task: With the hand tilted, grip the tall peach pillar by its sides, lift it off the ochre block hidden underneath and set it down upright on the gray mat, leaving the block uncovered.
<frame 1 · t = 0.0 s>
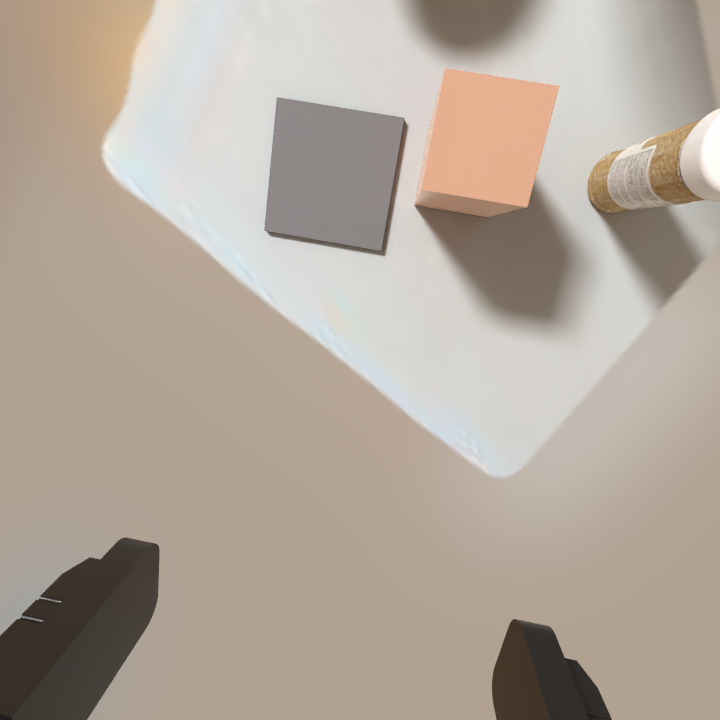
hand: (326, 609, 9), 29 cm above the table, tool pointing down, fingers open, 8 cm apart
tall peach pillar: (459, 171, 33), on the table
spice jar: (614, 183, 33), on the table
gray mat: (331, 177, 34), on the table
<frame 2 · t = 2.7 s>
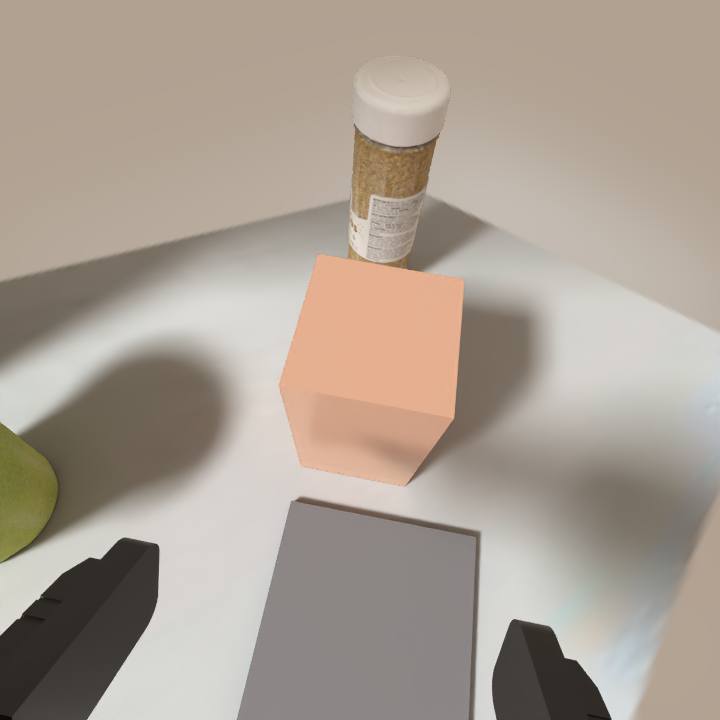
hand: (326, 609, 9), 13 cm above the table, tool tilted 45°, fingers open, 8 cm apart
tall peach pillar: (361, 426, 25), on the table
spice jar: (376, 273, 31), on the table
plant pot: (1, 506, 22), on the table
gray mat: (366, 627, 20), on the table
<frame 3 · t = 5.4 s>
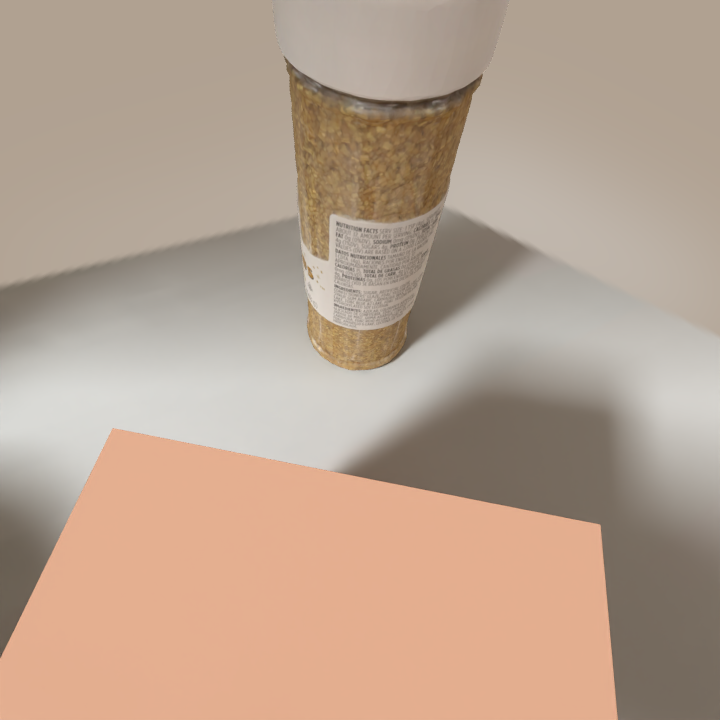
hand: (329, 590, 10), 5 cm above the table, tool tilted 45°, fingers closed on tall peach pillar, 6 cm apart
tall peach pillar: (320, 649, 13), on the table, touching gripper
spice jar: (357, 332, 19), on the table
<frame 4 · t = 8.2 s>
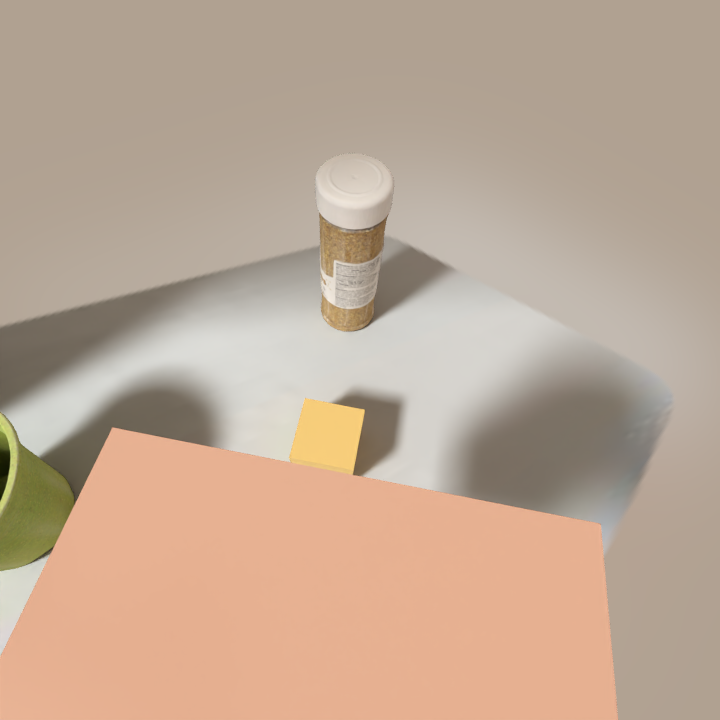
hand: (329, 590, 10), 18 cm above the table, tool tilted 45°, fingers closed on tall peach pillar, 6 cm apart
tall peach pillar: (320, 648, 13), point 13 cm above the table, touching gripper
spice jar: (347, 312, 36), on the table
plant pot: (27, 517, 27), on the table
ochre block: (328, 442, 28), on the table
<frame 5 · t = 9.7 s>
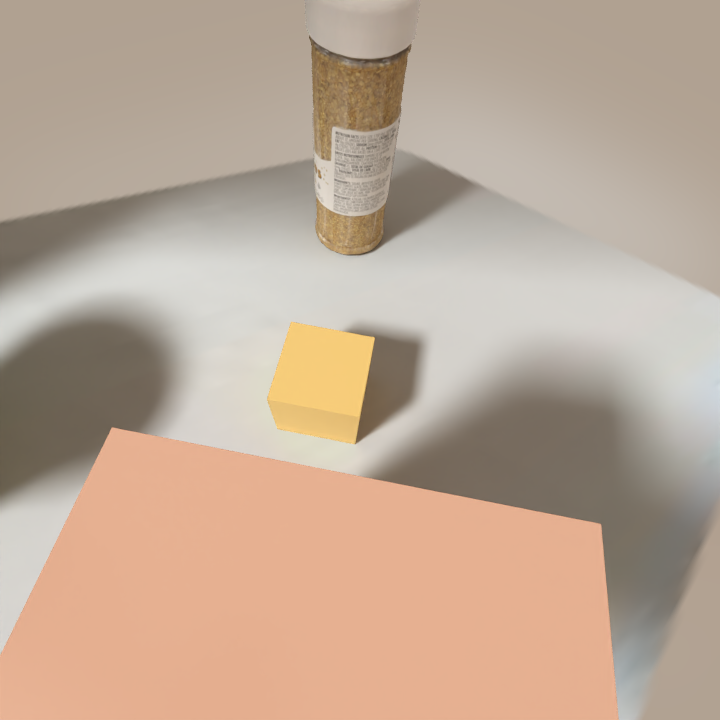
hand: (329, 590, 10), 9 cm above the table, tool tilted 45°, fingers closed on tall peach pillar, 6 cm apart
tall peach pillar: (320, 648, 13), point 4 cm above the table, touching gripper
spice jar: (349, 234, 28), on the table
ochre block: (324, 385, 20), on the table
when the fingers open (6 cm above the table, at t = 10.9 s): tall peach pillar stays where it is, resting on gray mat.
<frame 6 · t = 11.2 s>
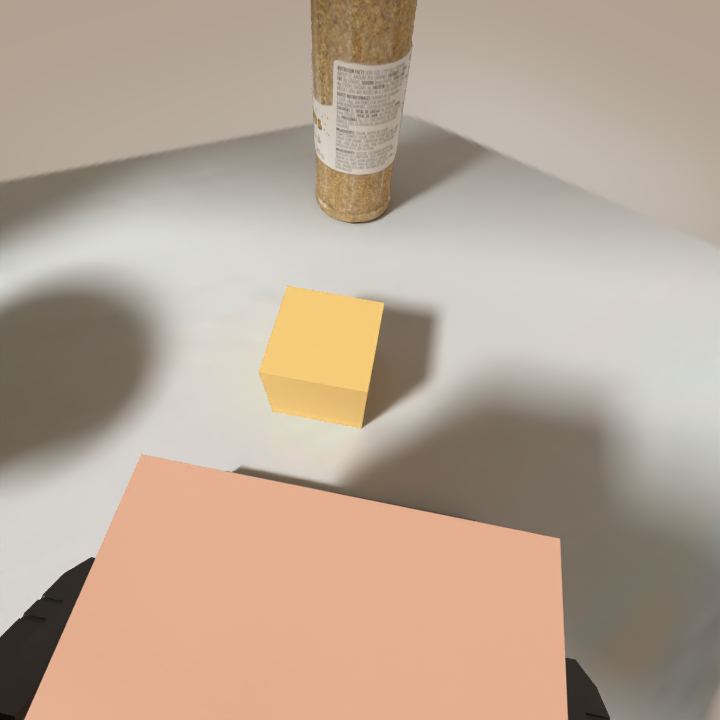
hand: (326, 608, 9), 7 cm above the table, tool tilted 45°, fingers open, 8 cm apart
tall peach pillar: (320, 647, 14), resting on gray mat
spice jar: (353, 202, 25), on the table
ochre block: (325, 360, 18), on the table
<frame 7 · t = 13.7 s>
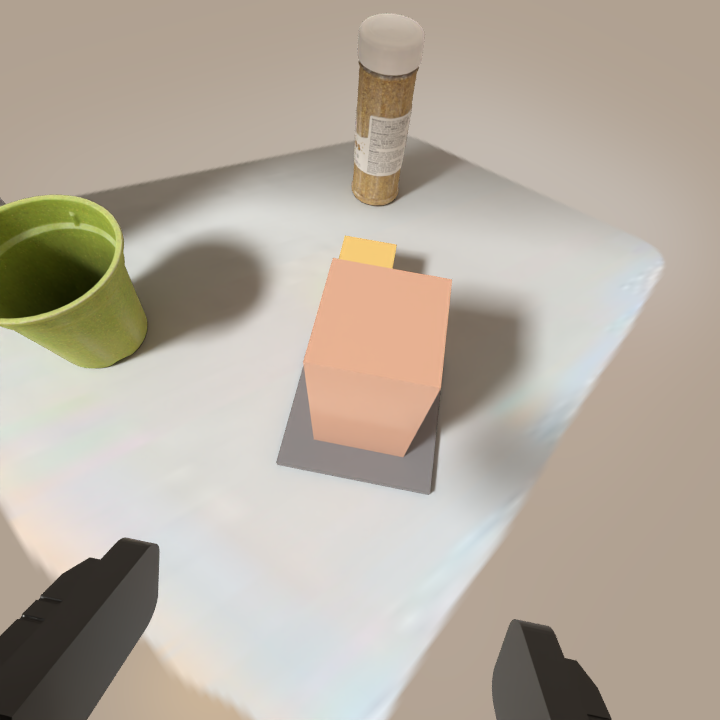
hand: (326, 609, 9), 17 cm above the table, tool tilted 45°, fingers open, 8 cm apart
tall peach pillar: (366, 406, 29), resting on gray mat
spice jar: (374, 193, 40), on the table
plant pot: (108, 334, 31), on the table
ochre block: (364, 277, 33), on the table
gray mat: (365, 408, 30), on the table
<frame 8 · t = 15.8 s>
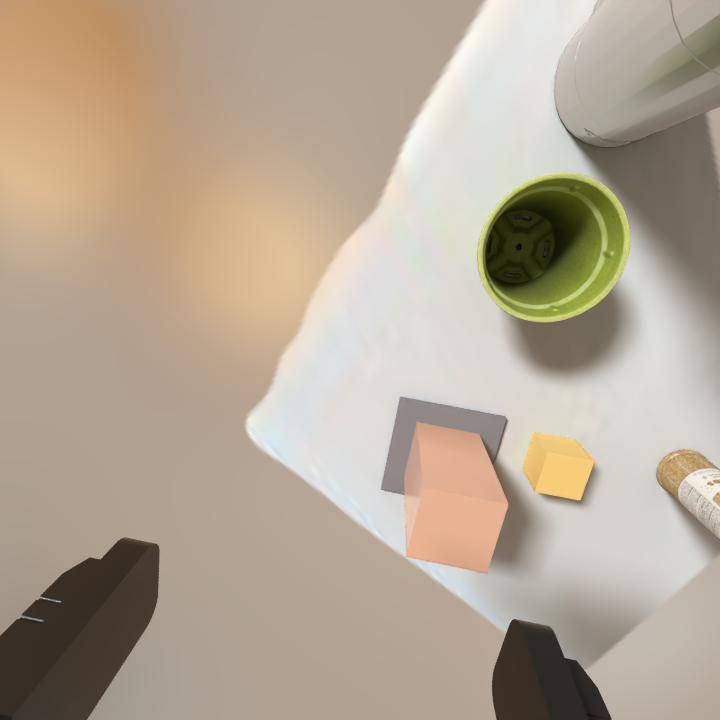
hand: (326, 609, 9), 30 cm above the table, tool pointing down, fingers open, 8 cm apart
tall peach pillar: (440, 455, 41), resting on gray mat
spice jar: (678, 468, 40), on the table
plant pot: (515, 248, 35), on the table
ochre block: (555, 464, 38), on the table
gray mat: (440, 453, 41), on the table
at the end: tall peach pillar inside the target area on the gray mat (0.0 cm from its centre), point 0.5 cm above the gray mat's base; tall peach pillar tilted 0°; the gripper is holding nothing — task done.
